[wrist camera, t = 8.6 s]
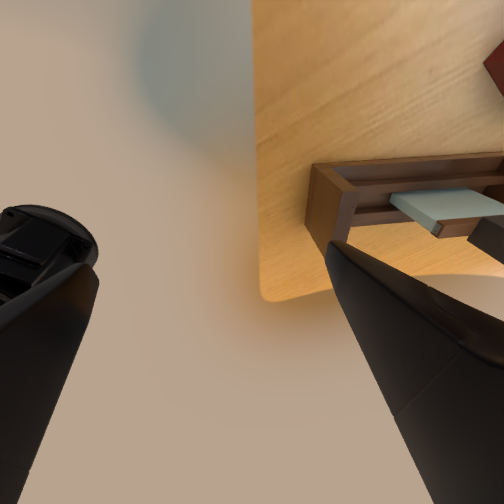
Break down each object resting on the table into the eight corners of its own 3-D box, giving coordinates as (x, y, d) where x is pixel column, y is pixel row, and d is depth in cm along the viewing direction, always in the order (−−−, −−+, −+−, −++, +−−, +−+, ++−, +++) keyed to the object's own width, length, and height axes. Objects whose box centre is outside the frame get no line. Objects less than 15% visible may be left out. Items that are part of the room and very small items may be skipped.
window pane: (386, 206, 21) (483, 281, 14) (394, 186, 20) (505, 255, 12) (455, 201, 22) (588, 270, 14) (467, 180, 21) (619, 243, 13)
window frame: (304, 224, 23) (326, 263, 18) (311, 163, 20) (342, 192, 15) (468, 210, 24) (530, 244, 20) (504, 151, 21) (592, 173, 16)
